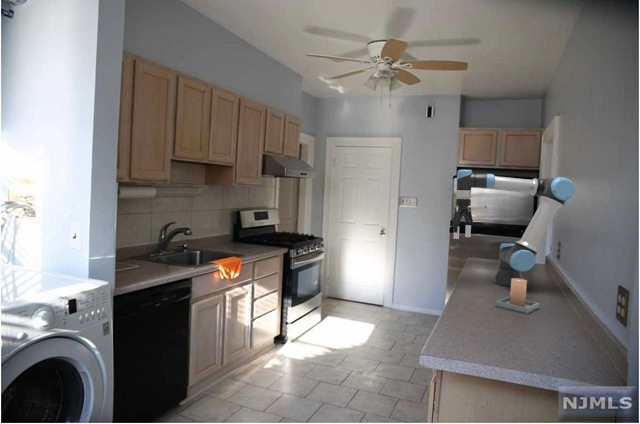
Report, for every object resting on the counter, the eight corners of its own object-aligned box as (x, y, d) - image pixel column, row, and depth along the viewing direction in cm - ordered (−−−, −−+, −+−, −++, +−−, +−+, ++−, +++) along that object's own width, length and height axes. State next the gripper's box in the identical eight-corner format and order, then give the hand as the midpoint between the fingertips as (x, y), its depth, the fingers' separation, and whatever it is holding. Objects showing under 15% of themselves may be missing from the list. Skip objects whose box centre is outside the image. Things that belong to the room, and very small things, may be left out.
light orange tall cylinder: (512, 303, 205) (514, 277, 204) (527, 306, 200) (529, 280, 200) (507, 305, 200) (509, 279, 199) (521, 308, 196) (523, 282, 195)
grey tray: (507, 301, 210) (508, 296, 210) (538, 308, 200) (539, 303, 200) (495, 306, 200) (495, 301, 200) (527, 314, 191) (527, 308, 190)
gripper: (467, 198, 250) (466, 235, 251) (445, 198, 232) (444, 238, 233) (480, 198, 245) (478, 236, 246) (459, 198, 227) (457, 240, 228)
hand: (462, 237), depth 240 cm, fingers open, 13 cm apart
